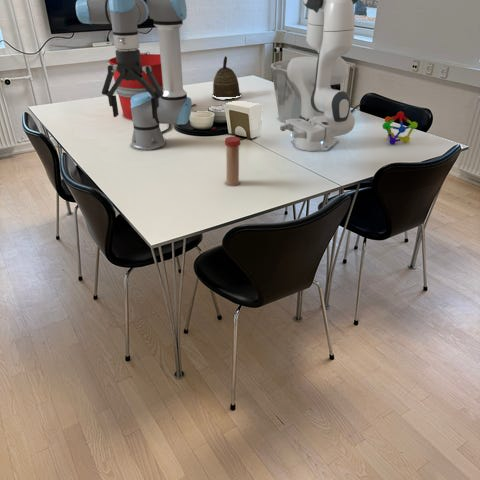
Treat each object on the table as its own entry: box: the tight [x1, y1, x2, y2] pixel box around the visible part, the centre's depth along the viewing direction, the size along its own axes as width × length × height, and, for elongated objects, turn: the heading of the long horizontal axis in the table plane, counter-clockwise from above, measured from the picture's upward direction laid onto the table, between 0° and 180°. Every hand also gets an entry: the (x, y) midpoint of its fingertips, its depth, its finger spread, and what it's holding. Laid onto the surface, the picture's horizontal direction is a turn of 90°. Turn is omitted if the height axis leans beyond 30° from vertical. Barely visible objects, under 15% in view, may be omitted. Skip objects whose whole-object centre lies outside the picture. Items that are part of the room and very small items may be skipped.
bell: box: [212, 56, 242, 97], centre depth 278 cm, size 19×26×20 cm
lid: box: [224, 136, 241, 147], centre depth 162 cm, size 6×6×2 cm
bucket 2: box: [270, 60, 315, 123], centre depth 235 cm, size 30×30×28 cm
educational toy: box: [382, 110, 418, 145], centre depth 207 cm, size 16×13×15 cm
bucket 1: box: [105, 51, 163, 121], centre depth 241 cm, size 35×35×30 cm
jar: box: [225, 145, 240, 187], centre depth 167 cm, size 5×5×17 cm
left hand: (135, 116), depth 150 cm, fingers open, 13 cm apart
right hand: (286, 131), depth 170 cm, fingers open, 8 cm apart
